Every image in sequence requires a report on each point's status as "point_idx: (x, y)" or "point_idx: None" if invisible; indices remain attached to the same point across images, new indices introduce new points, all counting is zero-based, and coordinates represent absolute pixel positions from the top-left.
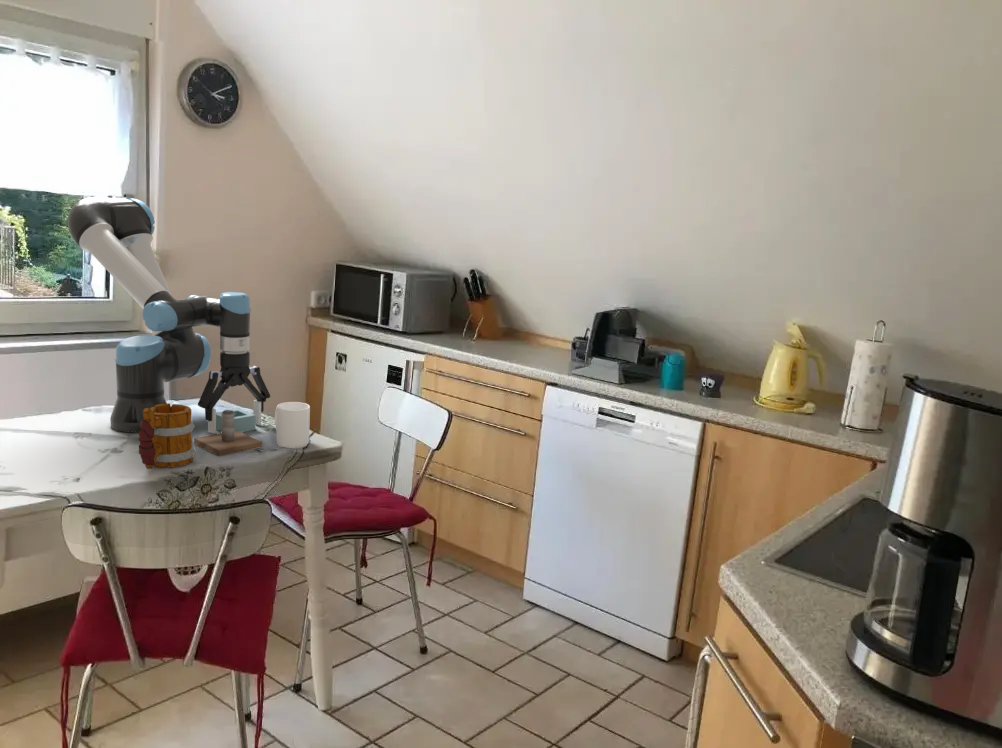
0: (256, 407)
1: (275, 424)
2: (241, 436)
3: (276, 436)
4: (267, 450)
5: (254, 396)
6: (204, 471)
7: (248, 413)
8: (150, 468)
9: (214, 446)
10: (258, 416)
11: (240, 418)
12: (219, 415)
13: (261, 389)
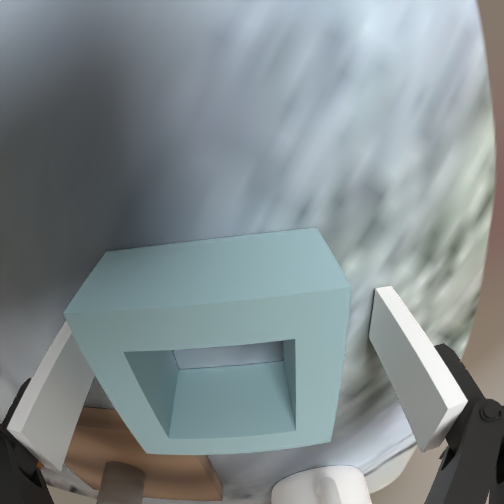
0: (413, 399)
1: (322, 494)
2: (178, 471)
3: (278, 500)
4: (225, 495)
5: (460, 446)
6: (69, 491)
7: (320, 413)
8: None
9: (82, 476)
10: (387, 371)
11: (222, 451)
12: (103, 385)
13: (502, 496)
